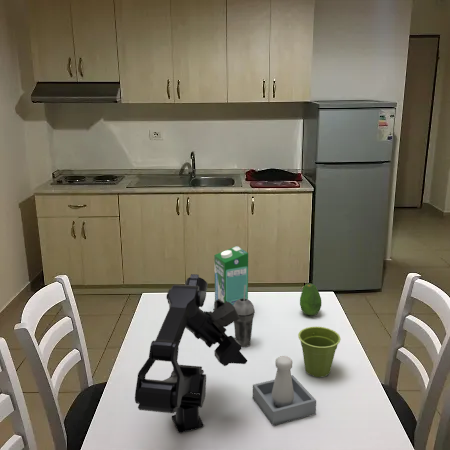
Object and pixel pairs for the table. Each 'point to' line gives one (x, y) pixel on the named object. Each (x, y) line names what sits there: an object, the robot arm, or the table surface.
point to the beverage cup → (244, 320)
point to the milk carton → (231, 275)
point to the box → (297, 409)
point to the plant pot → (318, 349)
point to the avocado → (310, 300)
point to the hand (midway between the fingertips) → (238, 353)
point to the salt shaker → (283, 382)
